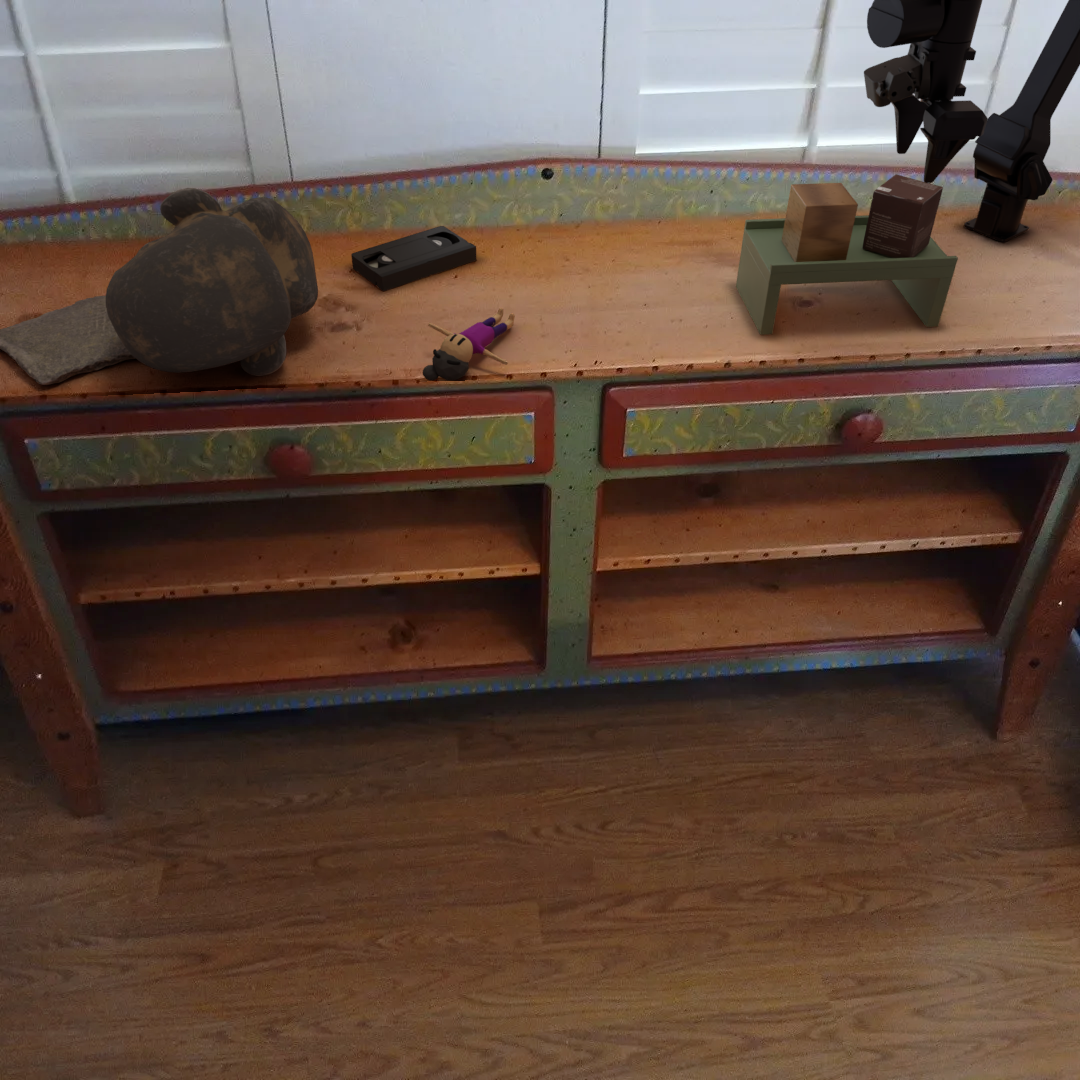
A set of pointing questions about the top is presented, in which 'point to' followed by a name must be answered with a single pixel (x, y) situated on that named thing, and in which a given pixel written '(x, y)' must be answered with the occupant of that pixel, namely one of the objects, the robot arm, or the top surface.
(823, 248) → the wooden block
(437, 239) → the vhs tape
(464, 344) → the toy
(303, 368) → the top surface
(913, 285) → the shelf
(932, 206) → the box
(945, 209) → the top surface
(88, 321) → the stone
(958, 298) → the top surface
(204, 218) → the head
